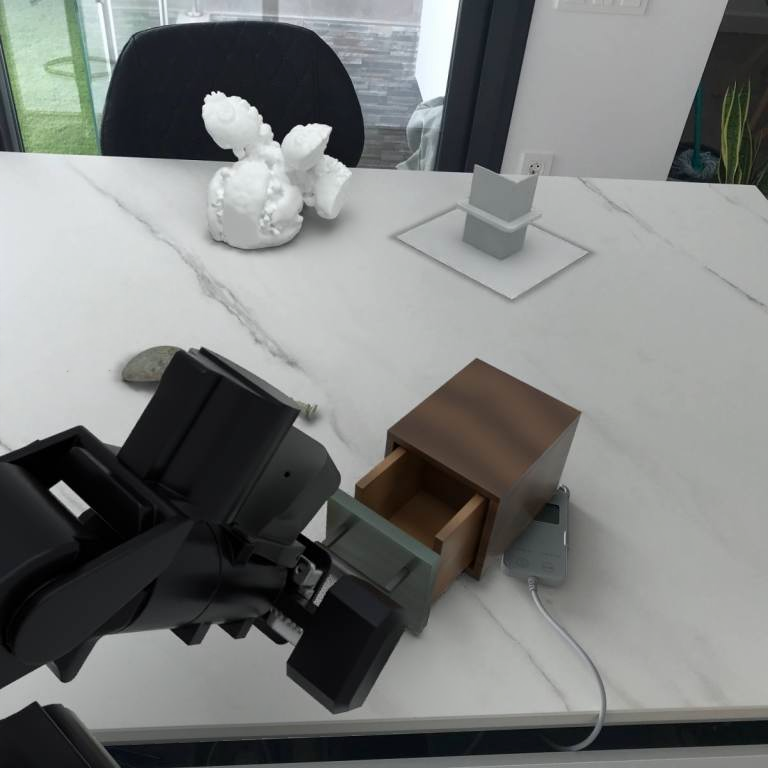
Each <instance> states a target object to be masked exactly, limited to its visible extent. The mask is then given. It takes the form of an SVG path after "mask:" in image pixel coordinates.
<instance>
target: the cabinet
mask: <svg viewBox="0 0 768 768" xmlns="http://www.w3.org/2000/svg"><path fill="white" fill-rule="evenodd" d="M582 413H583V412H582V411H581V410H579V409H577V408H575V407H573V406H571V405H570V404H567V403H566V402H564V401H562V400H560V399H558V398H556V397H554V396H553V395H550V394H548V393H546V392H545V391H542V390H540V389H538V388H537V387H535V386H533V385H530V384H529V383H527V382H524V381H523V380H521V379H519V378H517V377H515V376H513V375H511V374H510V373H507V372H506V371H503V370H501V369H499V368H498V367H496V366H493V365H492V364H490V363H488V362H486V361H484V360H482V359H481V358H478V357H475V358H474V359H473V360H472V361H470V362H469V363H468V364H466V366H464V367H463V368H462V369H460V370H459V371H458V372H456V373H455V374H454V375H453V376H452V377H450V378H449V379H448V380H447V381H446V382H444V383H443V384H442V385H440V387H438V388H437V389H436V390H435V391H433V392H432V393H431V394H430V395H428V397H426V398H424V400H422V401H421V402H420V403H418V405H416V406H415V407H414V408H412V409H411V410H410V411H408V412H407V413H406V414H405V415H404V416H403V417H402V418H400V419H399V420H397V422H395V423H394V424H393V425H392V426H390V427H389V428H388V429H386V440H385V447H384V448H385V449H384V457H383V460H384V459H385V458H386V457H387V456H389V455H390V454H391V453H392V452H393V451H395V450H396V449H397V448H398V447H399V446H400V445H401V446H403V447H404V448H406V449H407V450H409V451H411V452H412V453H414V454H416V455H417V456H419V457H421V458H422V459H424V460H426V461H427V462H429V463H431V464H432V465H434V466H436V467H437V468H439V469H440V470H442V471H444V472H445V473H447V474H449V475H450V476H452V477H454V478H455V479H457V480H459V481H460V482H462V483H464V484H465V485H467V486H468V487H470V488H472V489H473V490H475V491H477V492H478V493H480V494H482V495H483V496H485V497H487V498H488V499H490V504H489V508H488V512H487V516H486V520H485V524H484V528H483V532H482V536H481V540H480V544H479V548H478V552H477V556H476V557H475V558H474V559H473V560H472V561H471V562H470V564H469V565H468V566H467V567H466V568H465V569H464V570H463V571H462V572H464V573H465V574H467V575H468V576H470V577H472V578H473V579H474V580H476V581H478V582H481V580H482V579H483V578H484V576H485V575H486V574H487V573H488V572H489V571H490V570H491V568H492V567H493V566H495V564H496V563H497V561H499V559H500V558H501V557H502V556H503V555H504V554H505V552H506V551H507V550H508V549H509V548H510V547H511V546H512V544H513V543H514V542H515V541H516V540H517V538H518V537H519V536H520V535H521V534H522V533H523V531H524V530H525V529H526V528H528V526H529V525H530V524H531V523H532V521H534V519H535V518H536V517H537V515H538V514H539V513H540V512H542V510H543V509H544V507H545V506H547V504H548V503H549V502H550V501H551V499H553V497H554V496H555V495H556V493H557V491H558V487H559V484H560V482H561V477H562V475H563V471H564V470H565V469H564V468H565V467H566V466H565V465H566V462H567V459H568V456H569V453H570V450H571V447H572V444H573V442H574V437H575V435H576V431H577V428H578V427H579V426H578V425H579V423H580V419H581V415H582Z"/></svg>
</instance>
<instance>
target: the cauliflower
mask: <svg viewBox="0 0 768 768" xmlns="http://www.w3.org/2000/svg"><path fill="white" fill-rule="evenodd" d="M216 92H217V93H216ZM216 92H215V91H211V95H210V94H205V97H204V99H203V102H204V104H203V105H202V106H201V107H202V108H201V110H202V111H201V112H202V113H201V117H202V119H203V121H204V127H205V130H206V131H207V133H208V134H209V135H210V137H211V138H212V139H213V141H214V142H215V143H216V144H217V146H218V147H220V148H221V149H223V150H232V153H233V154H234V156H235V157H237V159H238V161H235V162H234V163H233V164H232V165H231V166H230V165H229V166H228V165H227V166H221V167H220V168H219V169H217V170H216V171H215V173H213V176H212V178H211V180H210V182H209V185H208V186H207V192H206V214H205V218H206V222H207V227H208V229H209V230H208V231H209V232H210V234H211V237H212V239H213V240H215V241H216V242H224V243H225V244H226V243H227V244H228V245H229V246H230V247H234V248H238V249H243V250H247V251H248V250H256V249H262V248H270V247H280V246H282V245H284V244H287V243H289V242H290V241H292V240H293V238H295V236H297V235H298V234H299V232H300V230H301V228H302V225H303V222H304V217H303V216H302V215H301V214H300V213H301V212H302V210H303V206H304V204H305V205H306V206H307V207H310V208H315V210H316V214H317V215H318V216H319V217H321V218H323V219H326V220H334V219H335V218H336V217H337V216H338V215H339V214H340V212H341V210H342V208H343V206H344V205H345V203H346V200H347V198H348V195H349V194H348V192H349V190H350V186H351V183H352V178H353V172H352V171H351V170H350V168H348V167H347V166H346V164H343V162H342V161H339V159H338V158H334V157H333V156H332V157H331V156H330V155H329V154H324V153H325V150H326V149H327V145H328V143H329V140H330V135H331V133H332V131H333V127H332V126H329V125H327V124H321V123H312V124H311V123H307V125H305V126H304V125H302V124H297V125H296V126H294V127H292V129H291V130H290V131H289V133H287V134H286V135H285V137H284V138H283V140H282V142H281V144H280V143H279V142H278V141H276V140H273V139H274V132H272V127H271V125H270V124H268V123H264V121H263V119H264V118H263V116H262V114H259V110H258V108H256V106H251V104H250V103H249V102H248V101H247V100H246V99H242V97H240V96H236V95H232V96H226V94H225V93H224V92H221V91H220V90H217V91H216ZM310 195H311V196H310Z"/></svg>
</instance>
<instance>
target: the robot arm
mask: <svg viewBox="0 0 768 768" xmlns="http://www.w3.org/2000/svg"><path fill="white" fill-rule="evenodd" d="M184 350H185V349H183V350H179V351H177V352H176V353H175V354H174V356H173V357H172V359H171V361H170V362H169V364H168V366H167V367H166V369H165V371H164V373H163V374H162V376H161V379H160V380H158V381H159V382H158V384H157V387H156V390H155V391H154V393H153V395H152V396H151V398H150V400H149V402H148V404H147V405H146V406H145V408H144V410H143V411H142V413H141V415H140V416H139V418H138V419H137V421H136V423H135V425H134V426H133V427H132V429H131V431H130V433H129V434H128V436H127V437H126V439H125V441H124V442H123V445H122V446H119V445H113V444H109V443H105V442H102V440H101V439H99V438H98V437H97V436H96V435H95V434H93V433H92V432H91V431H90V430H89V429H87V427H86V426H84V425H82V424H79V425H76V426H73V427H71V428H68V429H66V430H63V431H61V432H58V433H55V434H53V435H50V436H48V437H45V438H43V439H39V438H37V439H36V440H33V441H32V442H30V443H27V445H25V446H23V447H20V448H18V449H14V450H12V451H9V452H7V453H4V454H1V455H0V690H2V689H3V688H6V687H7V686H9V685H11V684H13V683H14V682H16V681H19V680H20V679H21V678H23V677H25V676H27V675H29V674H31V673H32V672H34V671H36V670H38V669H39V668H41V667H43V666H46V667H47V668H48V669H49V670H50V671H51V672H52V674H53V675H54V676H55V677H56V678H57V679H58V680H59V681H60V682H61V683H63V684H68V683H71V682H72V681H73V680H74V679H75V678H76V677H77V675H78V674H79V672H80V671H81V669H82V667H83V666H84V664H85V662H86V661H87V659H88V657H89V656H90V654H91V653H92V651H93V650H94V649H95V648H94V647H95V646H96V644H97V643H98V642H99V641H100V640H101V639H102V638H103V637H105V636H112V635H121V634H122V635H123V634H131V633H142V632H151V631H161V630H169V631H170V632H172V633H173V634H174V635H175V636H176V637H177V638H178V639H180V640H181V641H182V642H183V643H184V644H185V645H186V646H188V647H190V646H198V645H201V644H202V642H203V640H204V639H205V637H206V636H207V633H208V632H209V630H210V629H211V627H212V625H213V626H214V625H217V626H218V627H220V629H221V630H223V631H224V632H225V633H227V635H229V636H230V637H231V638H232V639H233V640H242V639H246V637H247V636H248V634H249V632H250V630H251V629H252V626H254V627H255V628H256V629H257V630H258V631H260V632H261V633H262V634H264V636H266V637H267V638H268V639H269V640H271V641H272V642H273V643H274V644H276V645H278V646H283V645H287V644H290V645H292V646H293V650H292V651H291V653H290V655H289V657H288V659H287V660H286V662H285V665H286V666H285V671H286V673H285V675H286V676H287V677H288V678H289V680H291V681H293V682H294V683H295V684H296V685H297V686H298V687H299V688H300V689H302V690H303V691H305V692H306V693H307V694H308V695H309V696H310V697H312V698H313V699H314V700H315V701H316V702H318V703H319V705H321V706H322V707H323V708H324V709H326V710H327V711H328V712H329V713H330V714H332V715H333V716H334V715H339V714H342V713H348V712H351V711H353V710H356V709H359V708H362V707H363V705H364V703H365V701H366V700H367V698H368V697H369V696H368V695H370V693H371V691H372V689H373V687H374V686H375V684H376V682H377V681H378V678H379V677H380V675H381V673H382V671H384V668H385V667H386V665H387V663H388V660H390V658H391V656H392V654H393V652H394V650H395V649H396V647H397V645H398V643H399V642H400V640H401V638H402V636H403V635H404V633H405V631H406V630H407V628H408V627H407V626H408V624H409V623H408V618H407V613H406V609H405V608H404V607H402V606H401V605H400V604H398V603H397V602H395V601H394V600H393V599H391V598H390V597H388V596H387V595H386V594H384V593H383V592H382V591H380V590H379V589H377V588H376V587H375V586H373V585H372V584H370V583H369V582H367V581H365V580H363V579H361V578H359V577H356V576H354V575H352V574H344V575H343V576H342V577H341V578H340V579H339V580H336V581H335V582H334V583H333V584H332V585H331V586H330V587H329V588H328V589H327V590H326V592H325V594H324V595H323V597H322V599H321V601H320V602H319V604H318V605H317V604H316V603H315V602H316V599H317V598H318V596H319V594H320V592H321V591H322V589H323V587H324V585H325V584H326V583H327V580H328V578H329V576H331V575H330V573H331V570H332V558H331V556H330V554H329V553H328V552H327V551H325V550H324V549H322V548H321V547H320V546H318V545H317V544H315V543H314V542H315V541H313V540H311V539H310V538H309V537H308V536H306V535H304V534H303V533H302V532H303V531H304V530H305V529H306V528H307V526H308V525H309V524H310V523H311V521H312V520H313V519H314V518H315V516H316V515H317V514H318V513H319V511H320V510H321V509H322V507H323V506H324V505H325V504H326V503H327V500H328V498H329V497H330V496H332V495H333V494H334V493H335V492H336V491H337V489H338V488H340V485H341V483H342V476H341V473H340V471H339V469H338V468H337V466H336V463H335V462H334V460H333V458H332V457H331V455H330V453H329V452H328V449H327V448H326V446H324V444H323V443H321V442H319V441H318V440H316V438H313V437H311V436H310V435H308V434H307V433H306V432H304V431H302V430H301V429H299V428H298V427H296V426H294V424H295V422H296V420H297V419H298V417H299V415H300V414H301V412H302V408H301V407H300V406H299V404H297V403H296V402H295V401H296V400H294V399H293V400H292V399H291V398H290V397H291V396H289V395H287V394H285V392H283V391H281V390H280V389H279V388H277V387H275V386H274V385H273V384H271V383H269V382H268V381H266V380H264V379H263V378H261V377H260V376H258V375H257V374H255V373H253V372H252V371H249V370H248V369H247V368H245V367H243V366H241V365H240V364H238V363H236V362H234V361H232V360H231V359H229V358H227V357H225V356H223V355H221V354H219V353H218V352H215V351H213V350H211V349H209V348H207V347H204V346H200V348H198V349H197V348H194V347H190V348H188V351H187V352H186V350H185V351H184ZM60 482H63V484H65V485H66V486H67V487H68V488H69V489H70V490H71V491H72V492H73V493H74V494H75V495H76V496H77V497H79V498H80V500H82V501H83V502H84V503H85V504H86V505H87V506H88V507H89V508H87V509H85V510H83V512H82V513H80V514H79V516H77V515H76V514H75V513H74V512H73V511H72V510H71V509H70V508H68V507H67V505H66V504H65V503H64V502H63V501H62V500H61V499H60V498H58V497H57V496H56V495H55V494H54V492H52V491H51V489H52V488H53V487H54V486H56V485H57V484H59V483H60ZM0 768H122V767H121V766H120V764H119V763H118V762H117V761H116V760H115V759H114V757H113V756H112V755H111V754H110V753H109V751H108V750H107V749H106V748H105V747H104V745H102V743H101V742H100V741H99V740H98V738H97V737H96V736H95V735H94V734H93V733H92V731H91V730H90V729H89V728H88V727H87V725H86V724H85V723H84V722H83V721H82V720H81V719H80V717H79V716H78V715H77V713H76V712H74V711H73V710H72V709H70V708H68V707H65V705H63V703H61V702H60V703H49V704H45V705H41V704H40V703H39V702H38V700H34V701H32V702H31V703H29V704H28V705H25V706H24V707H23V708H22V709H20V710H18V711H17V712H14V713H12V714H10V715H8V716H7V717H4V718H1V719H0Z"/></svg>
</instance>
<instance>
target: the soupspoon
mask: <svg viewBox="0 0 768 768" xmlns="http://www.w3.org/2000/svg"><path fill="white" fill-rule="evenodd" d="M179 350H184V351H186V349H183V348H181V347H178V346H175V345H158V346H153V347H149V348H147V349H145V350H143V351H140V352H139V353H137V354H136V355H135V356H133V357H132V358H131V359H130V360H129V361H128V362H127V363H126V365H125V366H124V368H123V369H122V371H121V377H122V380H125V381H127V382H138V383H139V382H140V383H143V382H156V381H160V379H161V376H162V374H163V373H164V371H165V369H166V367H167V366H168V364H169V362H170V361H171V359H172V357H173V356H174V354H175V353H176V352H177V351H179ZM186 352H188V351H186ZM289 397H290V398H291V399H292V400H294V398H293V396H289ZM294 401H295V402H296V403H297V404H299V406H300V407H301V408H302V411H301V412H302V414H303V415H306V414H307V415H308V420H309V421H310V420H311V419H313V417H314V416H315V413H316V412H317V409H318V404H316V403H315V404H314V405H313V406H311V404H310V403H305V402H302V401H301V400H294Z"/></svg>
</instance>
